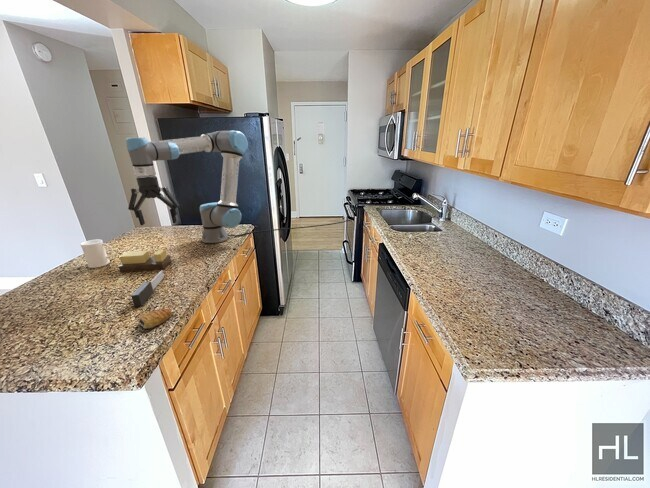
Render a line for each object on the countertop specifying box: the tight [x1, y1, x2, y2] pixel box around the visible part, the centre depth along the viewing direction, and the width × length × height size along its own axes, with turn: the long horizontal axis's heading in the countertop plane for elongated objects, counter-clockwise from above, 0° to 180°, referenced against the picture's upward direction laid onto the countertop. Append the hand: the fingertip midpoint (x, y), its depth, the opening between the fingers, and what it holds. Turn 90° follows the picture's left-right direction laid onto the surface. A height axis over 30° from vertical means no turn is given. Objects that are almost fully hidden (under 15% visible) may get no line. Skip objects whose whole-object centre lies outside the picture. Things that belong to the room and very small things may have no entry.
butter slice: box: [153, 249, 167, 262], centre depth 128 cm, size 3×6×4 cm, turn 9°
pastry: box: [138, 308, 173, 330], centre depth 88 cm, size 9×7×4 cm
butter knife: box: [130, 269, 165, 308], centre depth 106 cm, size 2×23×5 cm, turn 9°
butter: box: [119, 250, 151, 264], centre depth 126 cm, size 10×6×4 cm, turn 99°
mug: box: [80, 238, 114, 269], centre depth 128 cm, size 12×8×12 cm
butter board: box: [117, 254, 172, 273], centre depth 128 cm, size 19×10×3 cm, turn 99°
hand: (159, 223), depth 119 cm, fingers open, 13 cm apart
